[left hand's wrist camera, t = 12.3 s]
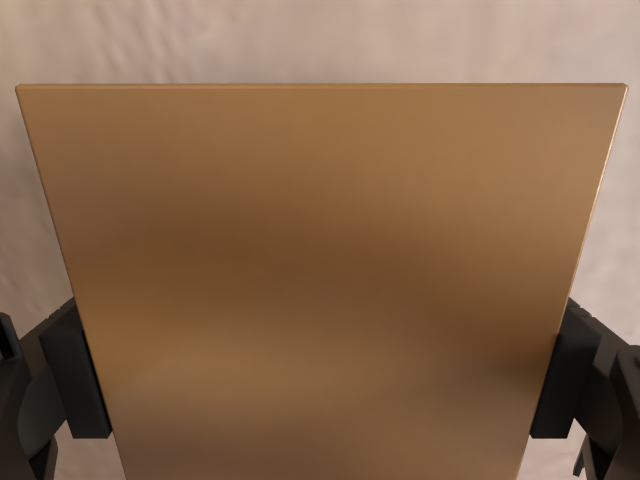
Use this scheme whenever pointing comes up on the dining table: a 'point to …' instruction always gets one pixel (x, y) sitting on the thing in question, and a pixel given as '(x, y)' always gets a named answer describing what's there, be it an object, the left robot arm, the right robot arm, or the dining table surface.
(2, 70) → the dining table surface
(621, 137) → the dining table surface
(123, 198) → the wide beam
